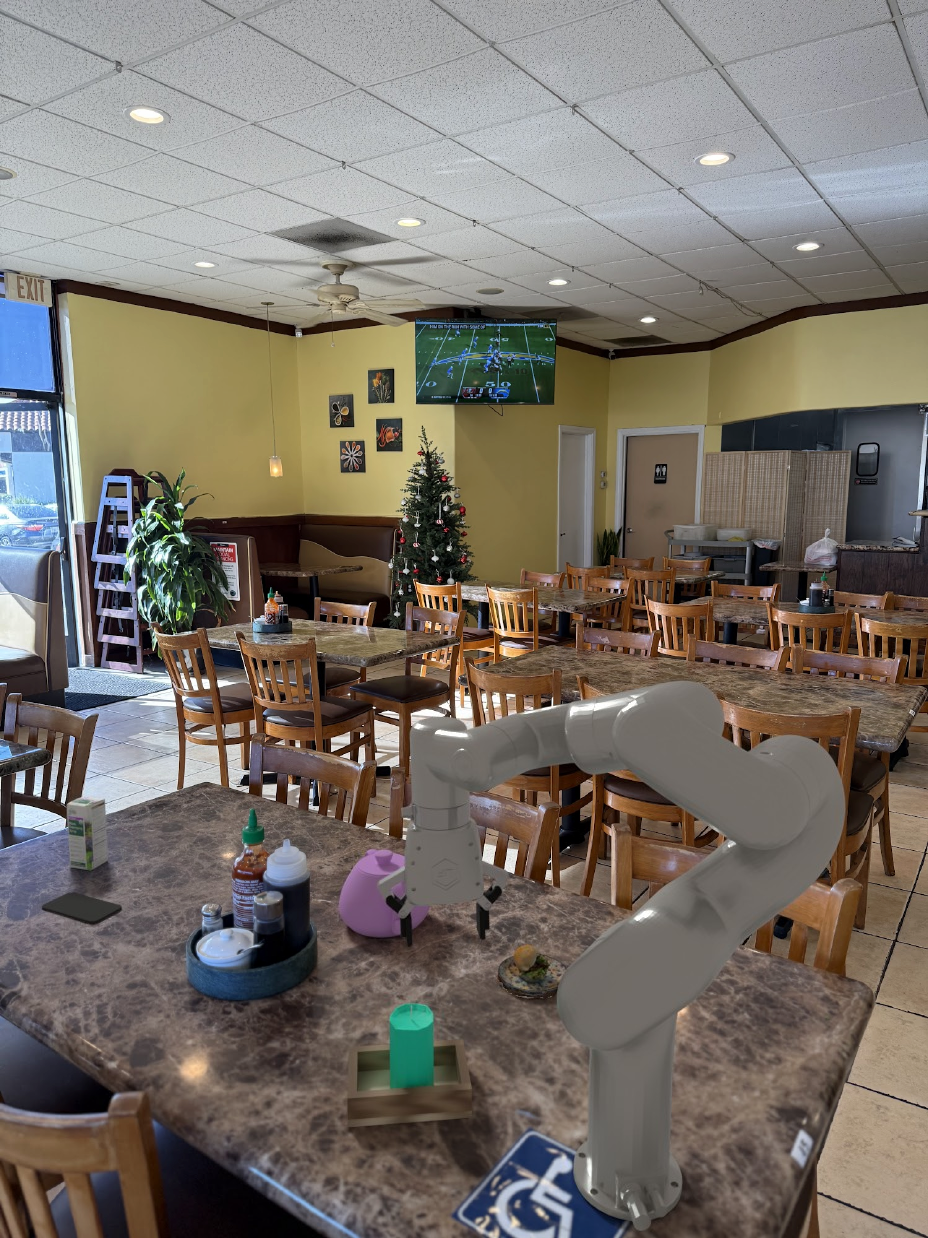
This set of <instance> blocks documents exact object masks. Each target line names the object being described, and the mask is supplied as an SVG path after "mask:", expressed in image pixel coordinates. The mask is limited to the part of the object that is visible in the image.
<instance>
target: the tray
mask: <svg viewBox="0 0 928 1238" xmlns="http://www.w3.org/2000/svg"><path fill="white" fill-rule="evenodd" d="M433 1059H434V1086H423V1087H409V1088H396V1089H390V1043H388V1044H373V1045H371V1044H370V1045H358V1046H348V1065H347V1066H348V1067H347V1094H346V1095H347V1097H346V1099H347V1100H346V1102H347V1103H346V1104H347V1109H346V1110H347V1128H357V1127H367V1126H379V1125H380V1126H381V1125H395V1124H404V1123H405V1124H407V1123H419V1122H432V1121H444V1120H447V1121H448V1120H457V1119H458V1120H459V1119H470V1118H473V1110H472V1109H473V1108H472V1107H473V1106H472V1105H473V1102H472V1101H473V1088H472V1083H471V1077H470V1071H469V1066H468V1061H467V1059H468V1058H467V1055H466V1048H465V1043H464V1039H463V1038H461V1039H448V1040H447V1039H446V1040H433Z"/></svg>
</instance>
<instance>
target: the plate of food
mask: <svg viewBox="0 0 928 1238" xmlns="http://www.w3.org/2000/svg"><path fill="white" fill-rule="evenodd" d="M516 942H517V944H518V948H516V950H515V952H514V953H513V955H511V956H509V957H508V958H506V959H504V960H502V961H501V963H500V964H499V966H498V967H497V976H496V977H497V979H498V980H499V982H502V983H503V987H504V988H505V989H507V991H508V992H507V991H505V992H506V993H508V994H509V993H512V994H510V995H511V996H513V995H518V996H527V997H534V998H540V997H543V998H546V999H547V998H548V997H550V996H553V997H554V995H555V993H556V991H557V990H558V986H559V982H560V980H561V978H562V976H563V974H564V972H565V971H566V969H567V967H566V966H565V964H564V963H562V962H560V961H559V960H557V959H555V958H554V957H551V956H549V955H547V954H546V955H545V954H542V953H538V952H537V949H536V948H535V947H534V946H533V945H530V944H525V945H521V946H520V944H519V941H518V940H516ZM547 969H548V970H551V971H548V970H547ZM551 972H552V973H551ZM497 979H496V980H497ZM498 980H497V981H498Z"/></svg>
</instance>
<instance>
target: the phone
mask: <svg viewBox="0 0 928 1238" xmlns="http://www.w3.org/2000/svg"><path fill="white" fill-rule="evenodd" d="M122 907H123V906H122V905H121V904H118V903H114V902H111V901H110V902H109V901H106V900H102V899H100V898H96V897H92V896H88V895H84V894H81V893H77V892H73V891H71V892H68V893H65V894H63V895H62V894H61V895H60V896H58V897H56V898H54V899H51V900H50V901H47V902H46V903H44V904H42V905H41V909H42V910H43V911H47V912H49V913H53V914H56V915H59V916H62V917H66V918H68V919H73V920H76V921H80V922H82V923H86V924H89V925H94V924H96V925H97V924H98V923H100V922H102V921H105V920H106V919H108V918H109V917H111V916H114V915H115V914H118V913H119V912H121V911H122V910H123V909H122Z"/></svg>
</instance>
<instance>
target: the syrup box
mask: <svg viewBox="0 0 928 1238" xmlns="http://www.w3.org/2000/svg"><path fill="white" fill-rule="evenodd" d="M106 813H107V812H106V798H99V797H98V798H96V797H88V796H82V797H79V798H78V797H77V798H76V799H74V800H71V801H70V802H68V803H66V818H67V833H68V848H69V850H68V851H69V852H68V853H69V867H70V868H71V869H72V868H73V869H80V870H85V871H90V872H91V871H92V870H93V871H94V870H95V869H97V868H98V867H100V866H101V865H103V864H105V863H106V862H108V861H109V856H108V855H109V853H108V834H107V833H108V832H107V816H106Z"/></svg>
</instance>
